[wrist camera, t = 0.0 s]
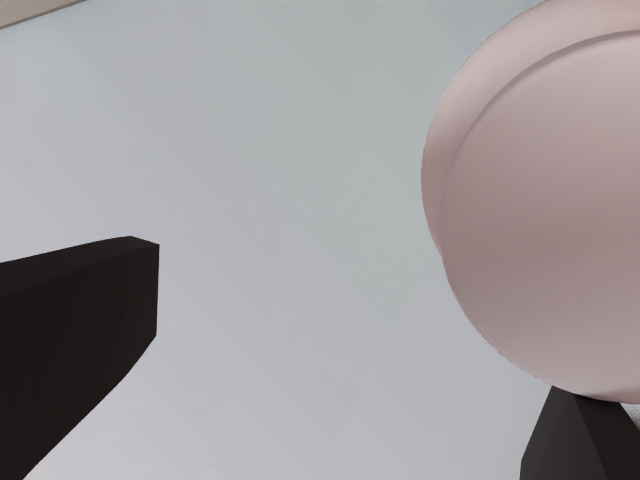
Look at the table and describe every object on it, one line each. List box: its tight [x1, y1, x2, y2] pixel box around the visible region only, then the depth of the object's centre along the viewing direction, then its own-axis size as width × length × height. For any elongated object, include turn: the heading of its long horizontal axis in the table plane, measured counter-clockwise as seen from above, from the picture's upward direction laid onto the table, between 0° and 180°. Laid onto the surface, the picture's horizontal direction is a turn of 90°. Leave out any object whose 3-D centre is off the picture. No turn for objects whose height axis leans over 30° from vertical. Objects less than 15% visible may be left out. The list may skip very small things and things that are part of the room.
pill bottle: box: [421, 0, 640, 404], centre depth 12 cm, size 6×6×11 cm
